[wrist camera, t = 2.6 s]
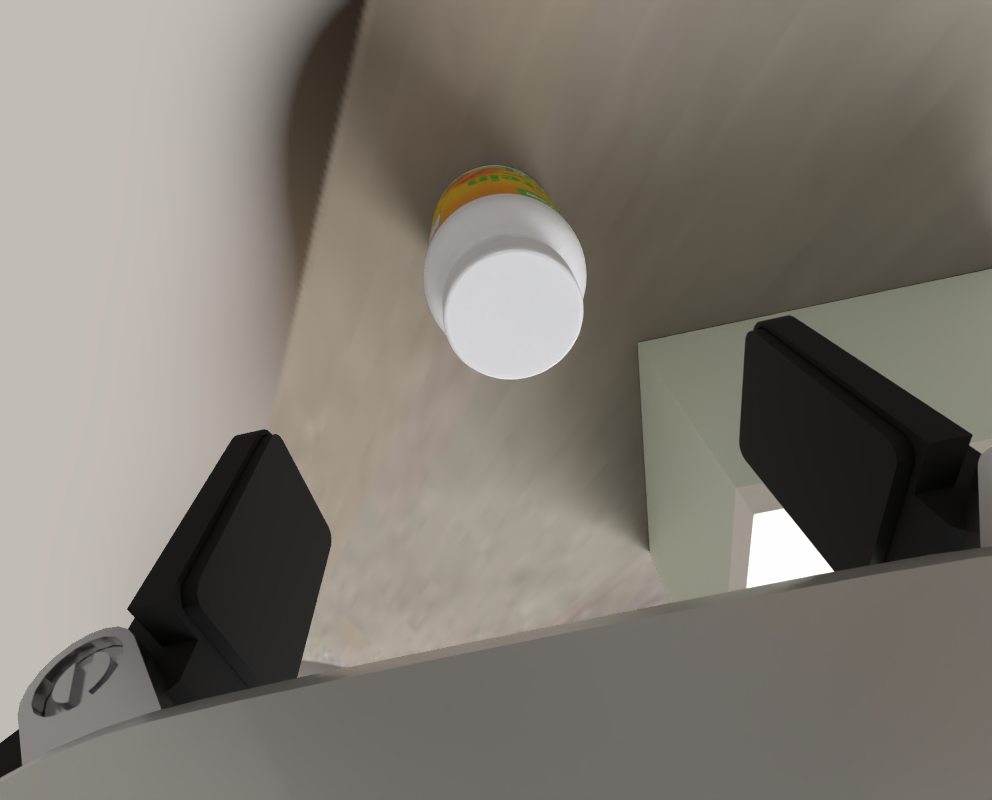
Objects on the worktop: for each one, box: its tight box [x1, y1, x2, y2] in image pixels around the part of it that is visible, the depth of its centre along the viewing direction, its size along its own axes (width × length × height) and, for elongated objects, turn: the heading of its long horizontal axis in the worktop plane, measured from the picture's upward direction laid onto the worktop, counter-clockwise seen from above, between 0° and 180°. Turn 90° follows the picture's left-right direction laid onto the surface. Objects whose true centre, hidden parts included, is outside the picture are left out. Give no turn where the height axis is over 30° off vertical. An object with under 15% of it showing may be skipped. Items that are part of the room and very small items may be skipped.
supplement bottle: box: [423, 165, 587, 379], centre depth 18 cm, size 5×5×10 cm
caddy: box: [638, 269, 992, 603], centre depth 25 cm, size 16×18×12 cm
